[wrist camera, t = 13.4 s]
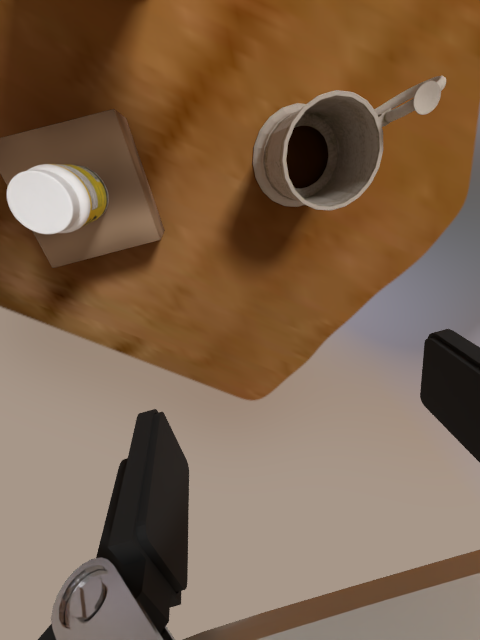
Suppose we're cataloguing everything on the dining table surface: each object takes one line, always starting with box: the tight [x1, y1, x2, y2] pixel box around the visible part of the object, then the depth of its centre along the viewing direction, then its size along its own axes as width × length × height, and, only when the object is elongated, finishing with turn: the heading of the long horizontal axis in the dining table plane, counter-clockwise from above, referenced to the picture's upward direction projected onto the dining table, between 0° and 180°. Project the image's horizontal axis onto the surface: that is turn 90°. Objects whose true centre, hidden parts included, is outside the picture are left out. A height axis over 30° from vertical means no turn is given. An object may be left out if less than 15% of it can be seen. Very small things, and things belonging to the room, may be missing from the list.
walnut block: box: [0, 109, 165, 268], centre depth 29 cm, size 11×11×5 cm
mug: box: [253, 76, 446, 210], centre depth 27 cm, size 14×10×12 cm
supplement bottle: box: [7, 164, 108, 234], centre depth 23 cm, size 5×5×8 cm
